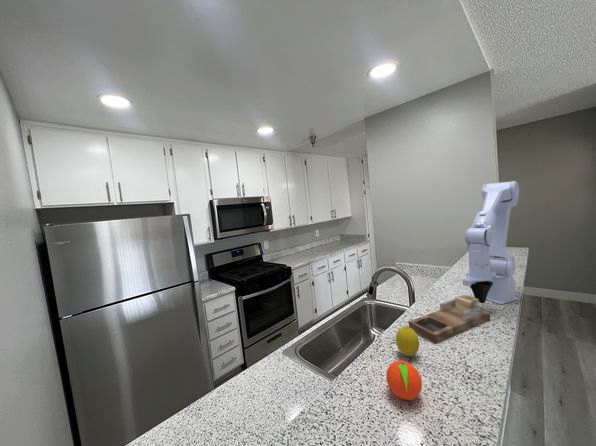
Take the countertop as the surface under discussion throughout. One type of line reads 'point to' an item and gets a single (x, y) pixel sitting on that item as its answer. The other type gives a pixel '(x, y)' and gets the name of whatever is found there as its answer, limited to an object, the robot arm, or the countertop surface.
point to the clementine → (404, 380)
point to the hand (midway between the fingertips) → (480, 301)
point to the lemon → (407, 341)
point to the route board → (445, 324)
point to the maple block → (466, 303)
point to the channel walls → (465, 315)
